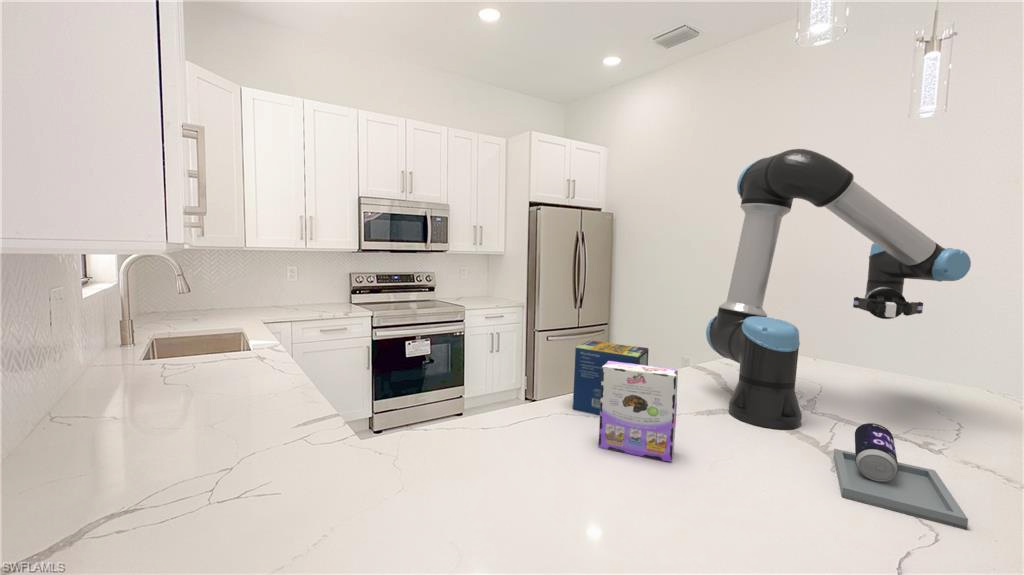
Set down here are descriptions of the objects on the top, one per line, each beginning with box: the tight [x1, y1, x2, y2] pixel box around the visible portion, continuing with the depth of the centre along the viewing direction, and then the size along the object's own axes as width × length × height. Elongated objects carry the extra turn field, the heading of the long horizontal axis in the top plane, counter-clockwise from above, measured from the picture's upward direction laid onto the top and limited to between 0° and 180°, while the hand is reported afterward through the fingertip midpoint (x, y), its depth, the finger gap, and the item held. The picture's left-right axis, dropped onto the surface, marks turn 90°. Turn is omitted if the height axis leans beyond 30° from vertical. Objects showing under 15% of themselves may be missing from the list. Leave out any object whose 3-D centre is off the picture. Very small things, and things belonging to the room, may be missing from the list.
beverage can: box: [854, 422, 898, 482], centre depth 79 cm, size 6×6×12 cm
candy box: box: [597, 361, 679, 463], centre depth 85 cm, size 14×6×16 cm, turn 65°
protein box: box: [572, 340, 650, 416], centre depth 107 cm, size 10×15×16 cm
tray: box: [833, 448, 969, 530], centre depth 74 cm, size 14×17×2 cm
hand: (891, 310), depth 92 cm, fingers closed
